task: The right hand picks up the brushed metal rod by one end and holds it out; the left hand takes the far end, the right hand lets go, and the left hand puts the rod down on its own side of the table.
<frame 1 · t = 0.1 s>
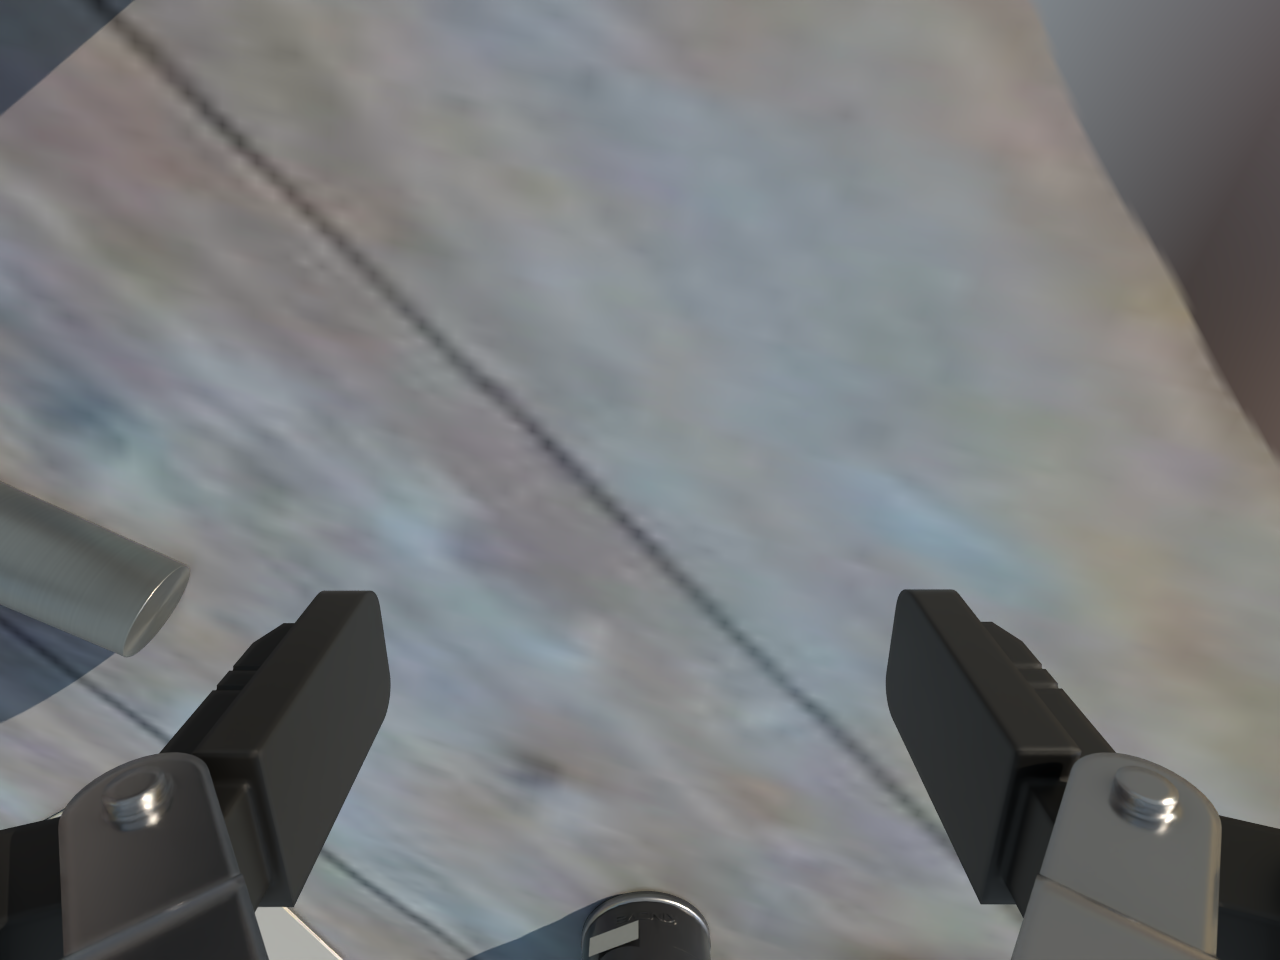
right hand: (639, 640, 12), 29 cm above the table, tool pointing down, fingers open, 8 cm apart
invitation card: (170, 907, 54), on the table
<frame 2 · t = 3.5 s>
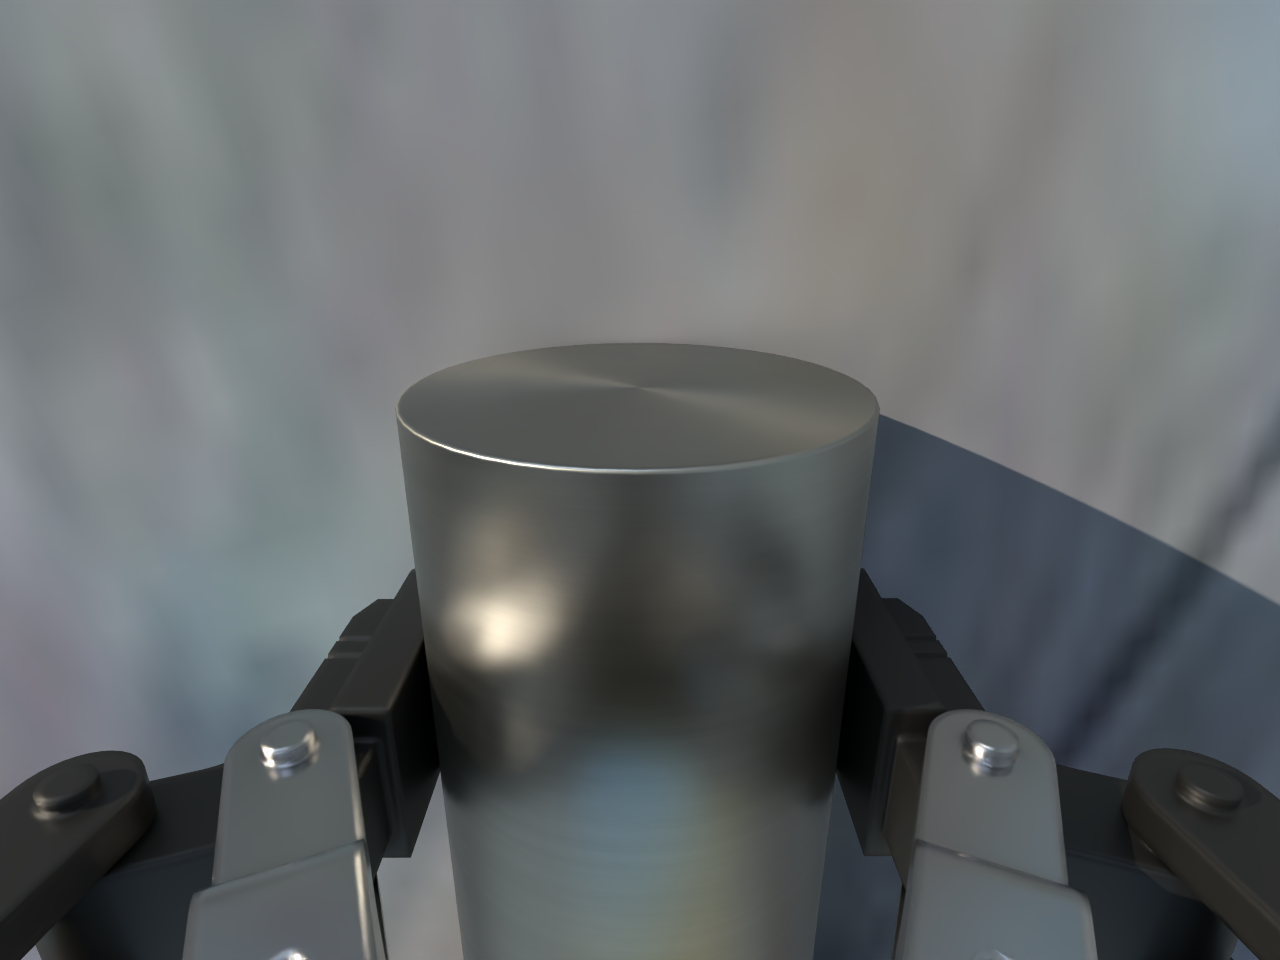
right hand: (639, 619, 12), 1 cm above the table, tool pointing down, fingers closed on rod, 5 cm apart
rod: (638, 957, 17), on the table, touching right hand
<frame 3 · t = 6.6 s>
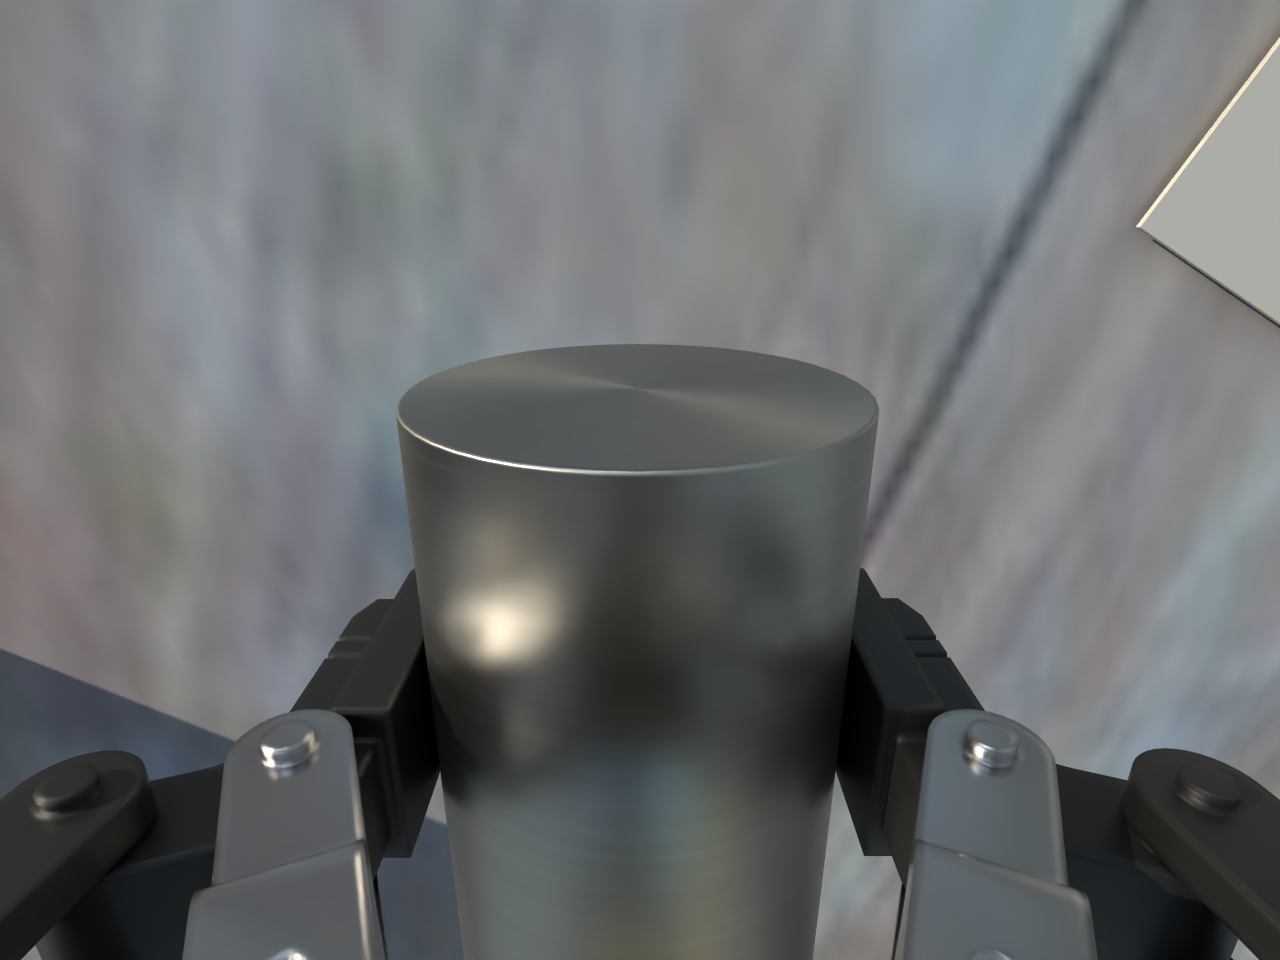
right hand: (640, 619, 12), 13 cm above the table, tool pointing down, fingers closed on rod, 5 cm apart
rod: (638, 957, 17), point 12 cm above the table, touching right hand
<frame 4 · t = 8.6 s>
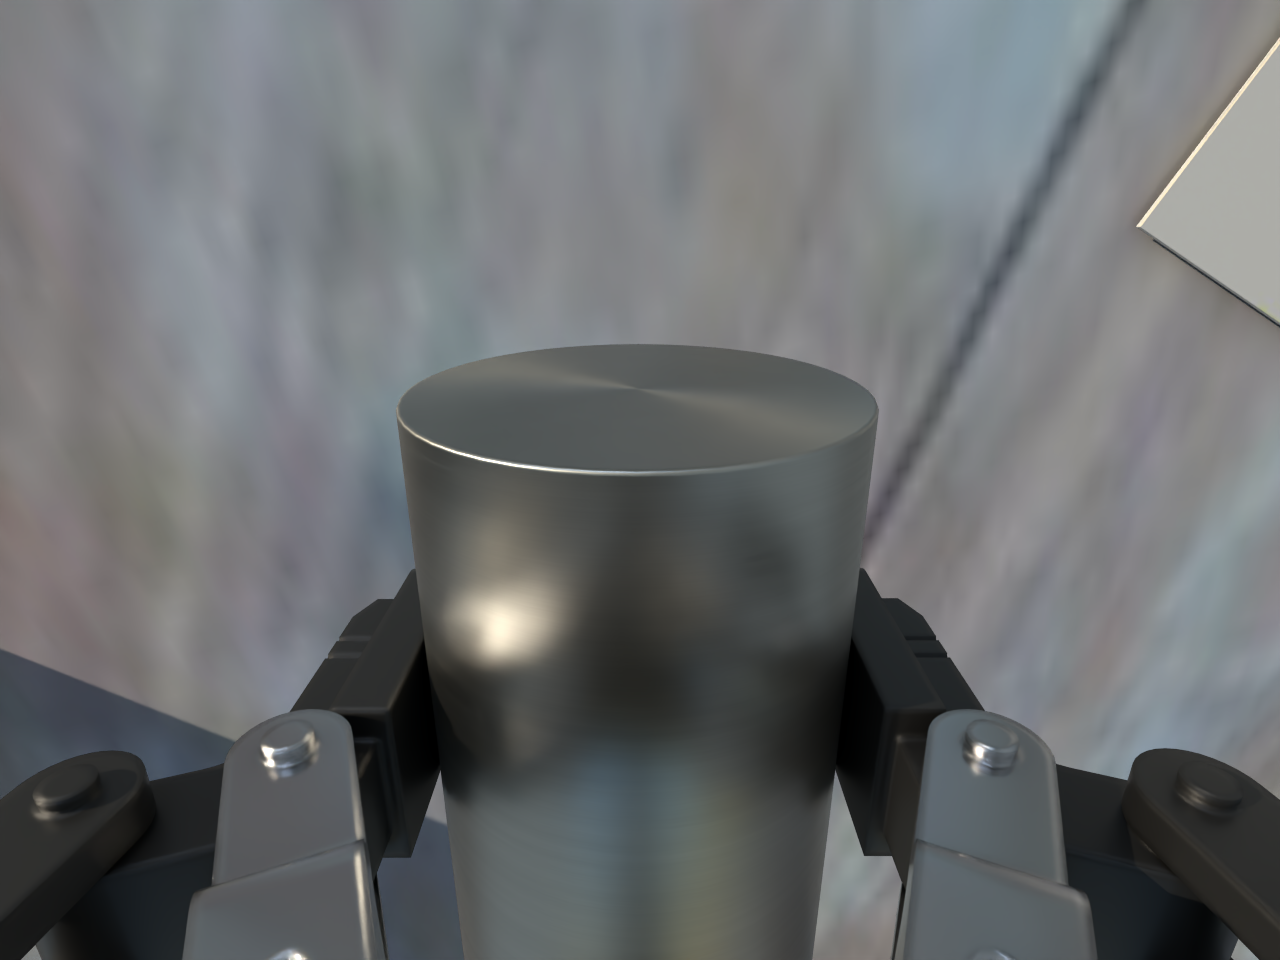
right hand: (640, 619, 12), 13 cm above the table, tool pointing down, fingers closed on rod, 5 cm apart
rod: (638, 957, 17), point 12 cm above the table, touching right hand, left hand
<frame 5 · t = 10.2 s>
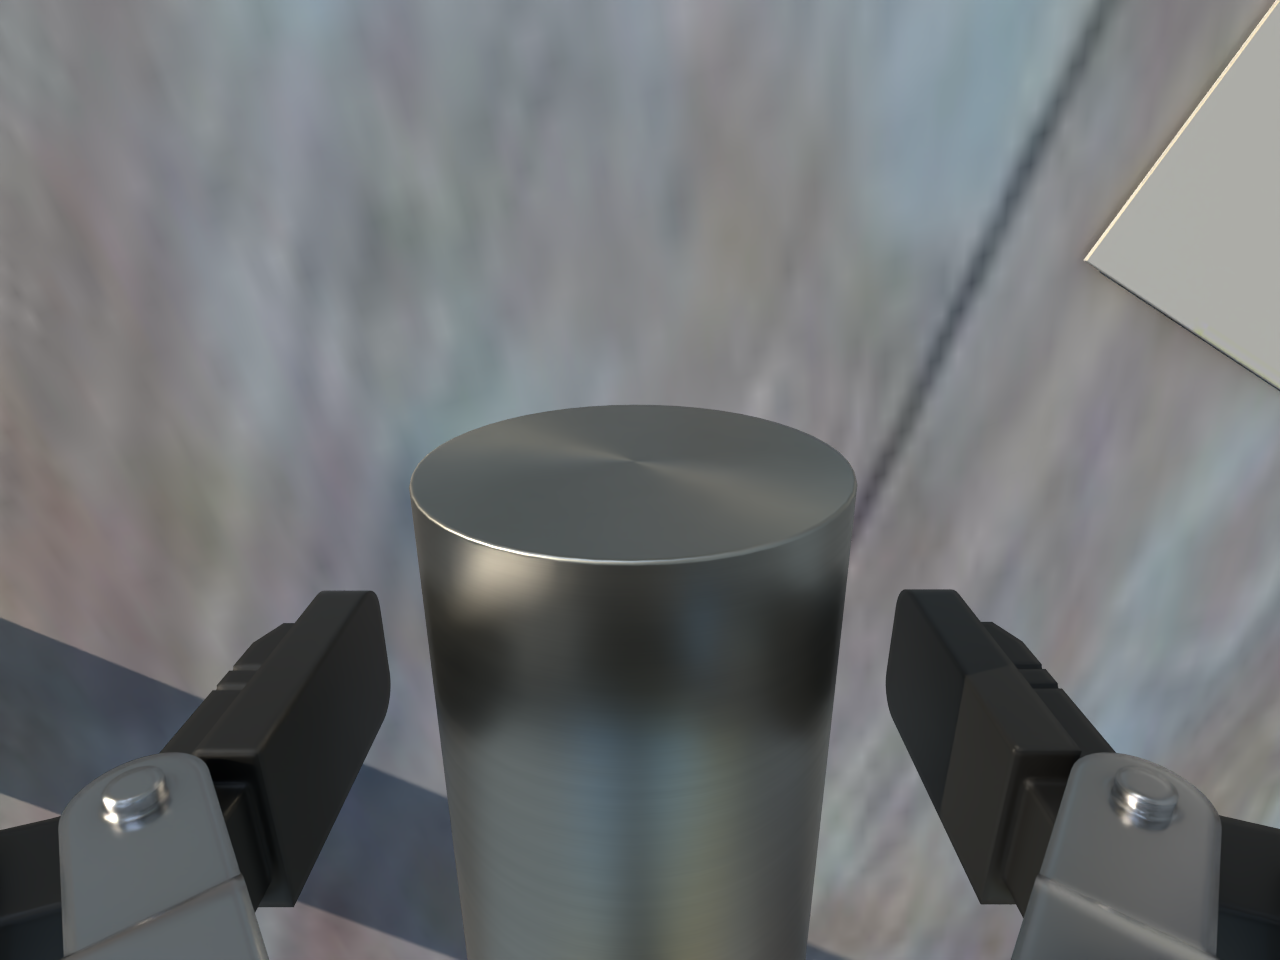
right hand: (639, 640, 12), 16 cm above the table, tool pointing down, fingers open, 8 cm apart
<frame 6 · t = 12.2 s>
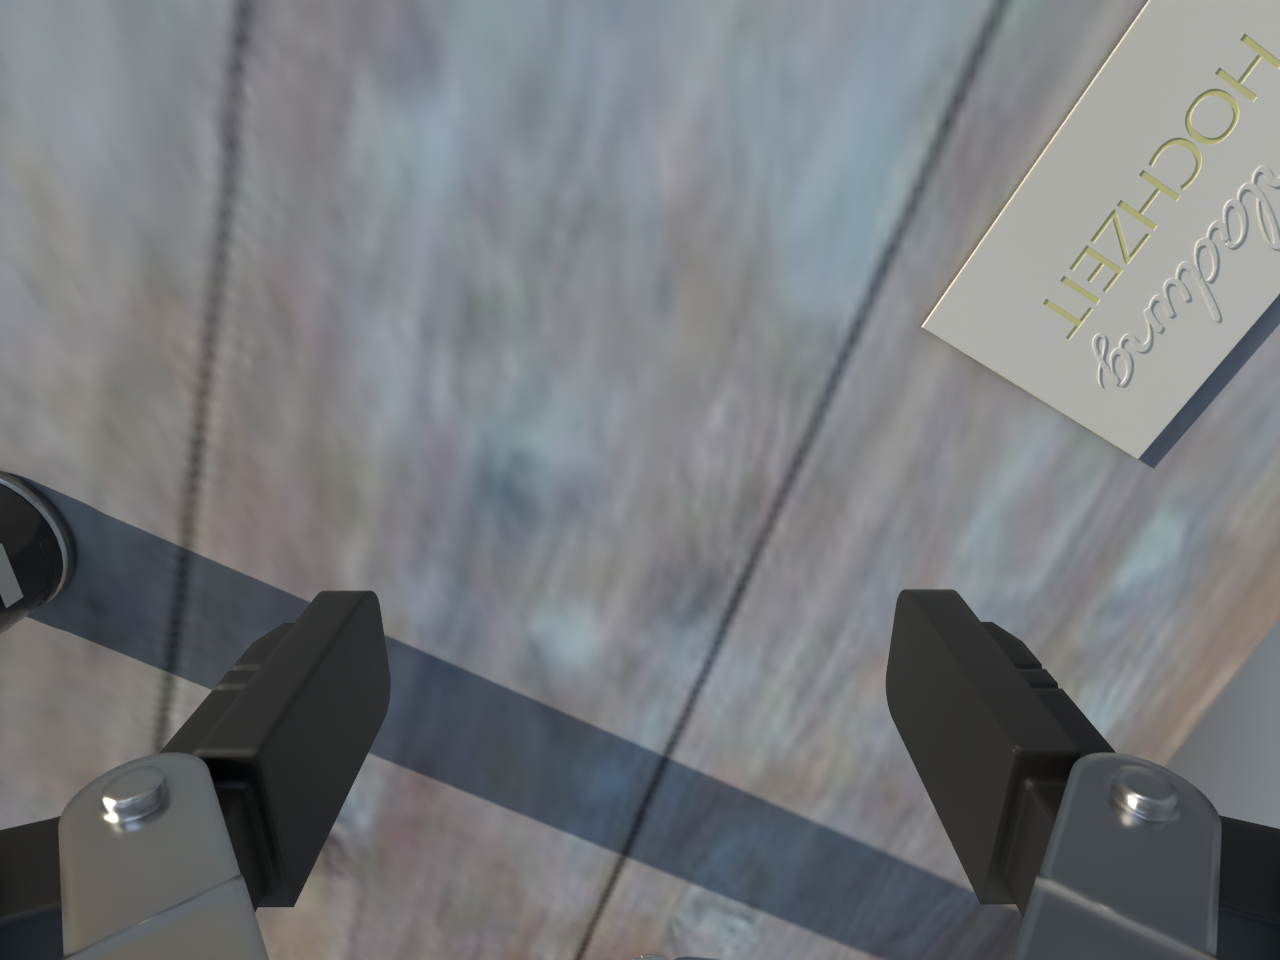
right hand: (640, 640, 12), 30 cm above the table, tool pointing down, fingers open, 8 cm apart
invitation card: (1169, 213, 37), on the table
when the left hand's fingers open (2 cm above the table, at t = 14.0 s): rod stays where it is, on the table.
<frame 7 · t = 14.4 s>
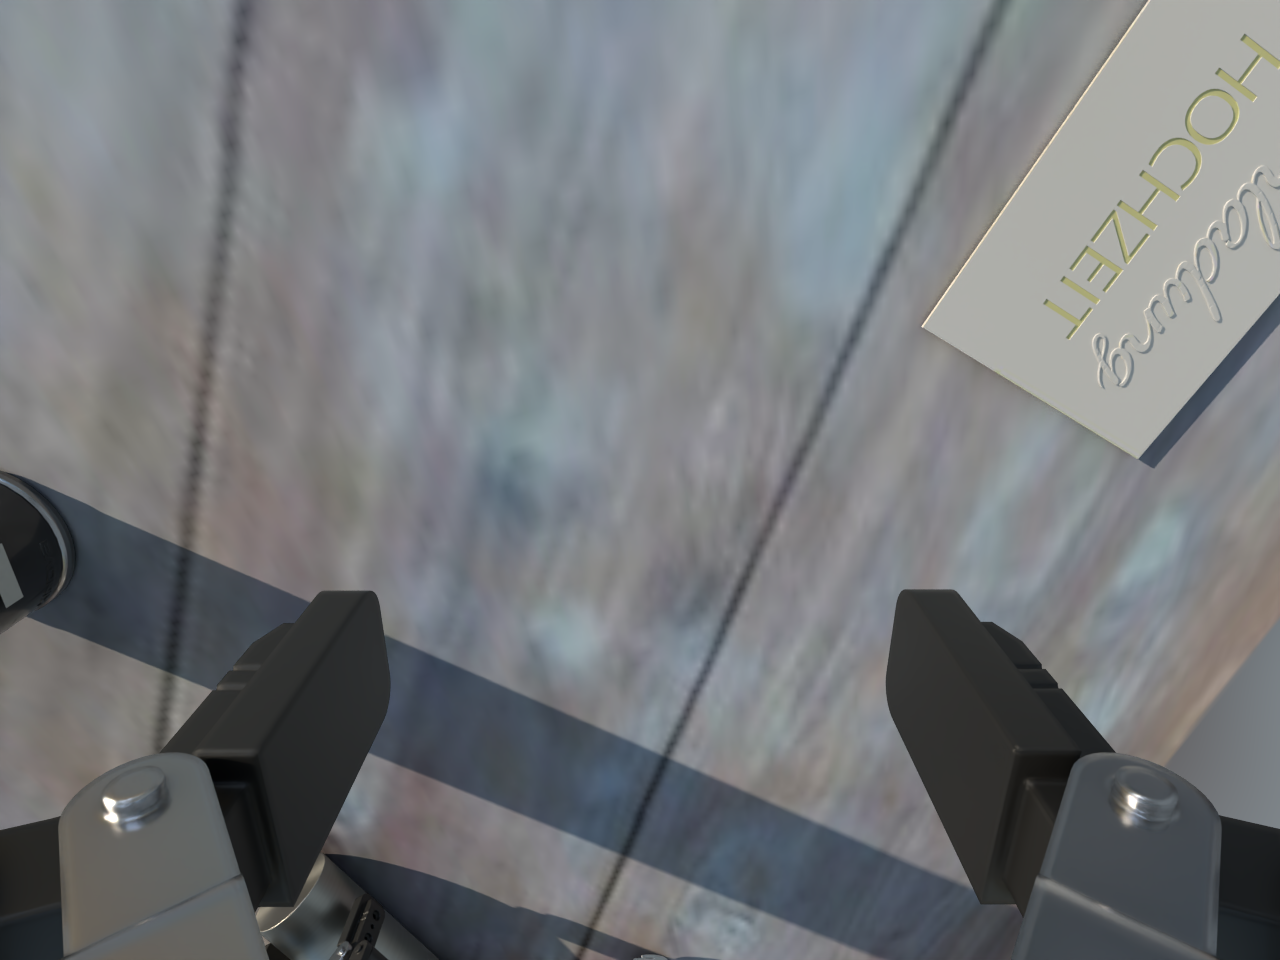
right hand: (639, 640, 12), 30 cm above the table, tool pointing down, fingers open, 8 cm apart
invitation card: (1169, 213, 37), on the table
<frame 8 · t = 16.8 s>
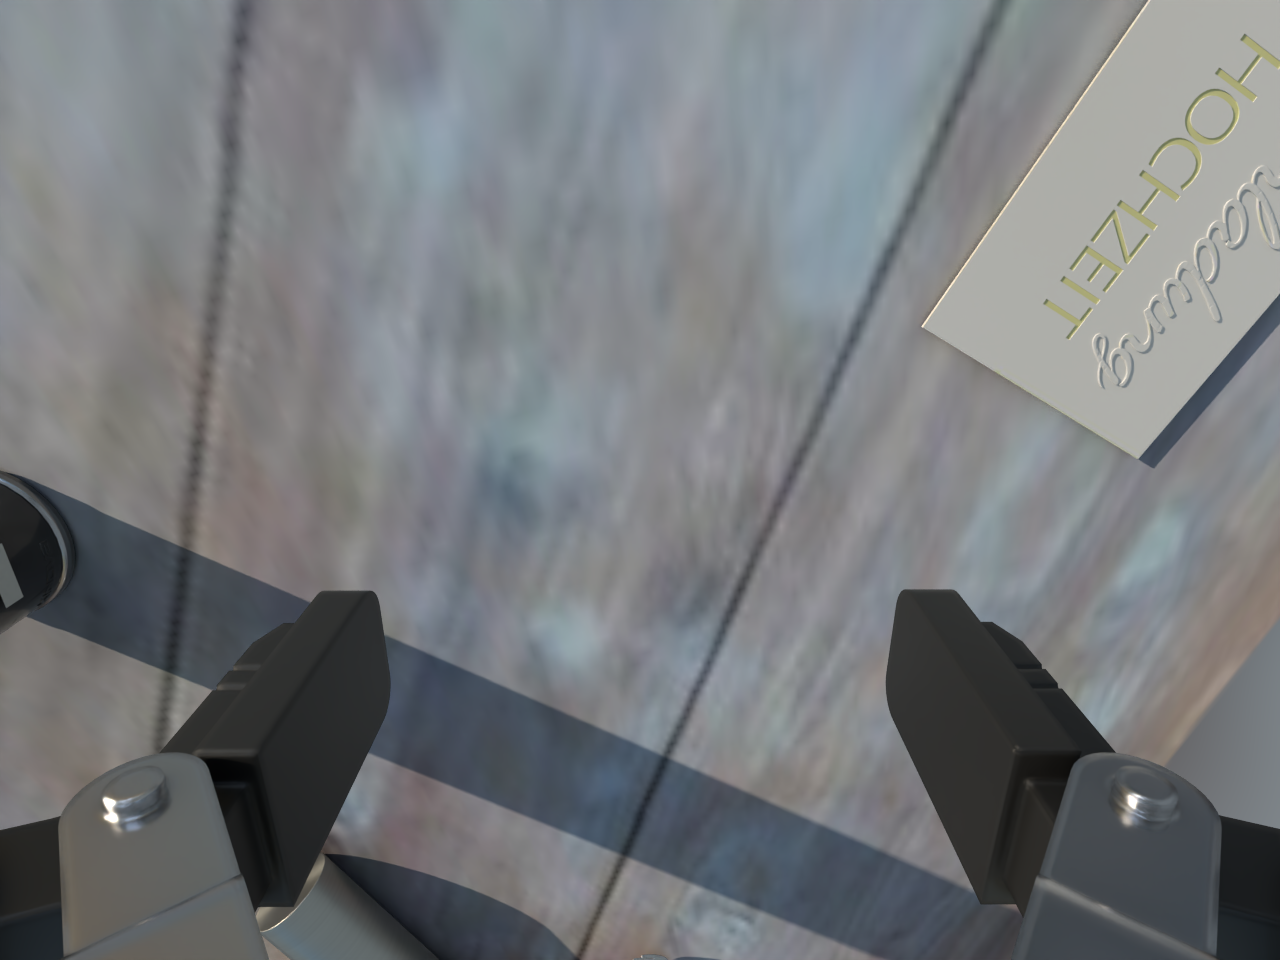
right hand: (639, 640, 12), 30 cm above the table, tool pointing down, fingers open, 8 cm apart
invitation card: (1169, 213, 37), on the table
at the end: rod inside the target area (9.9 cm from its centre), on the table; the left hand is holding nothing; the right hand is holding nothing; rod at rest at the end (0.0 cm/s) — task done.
